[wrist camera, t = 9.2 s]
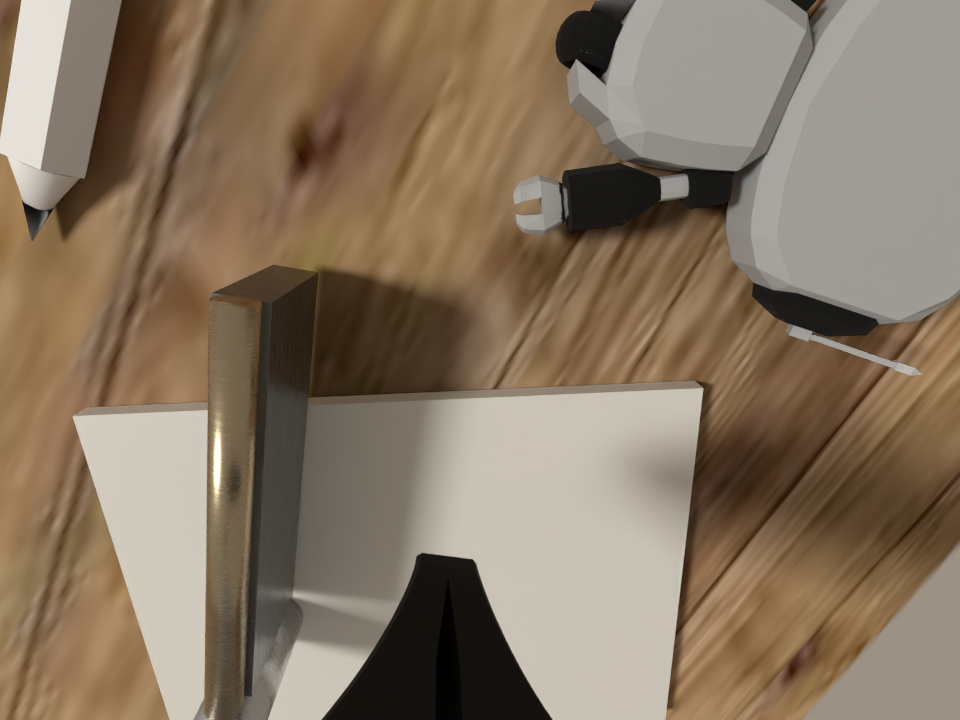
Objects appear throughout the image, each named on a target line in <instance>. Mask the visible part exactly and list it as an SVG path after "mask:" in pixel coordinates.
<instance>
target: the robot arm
mask: <svg viewBox="0 0 960 720" xmlns="http://www.w3.org/2000/svg"><path fill="white" fill-rule="evenodd" d="M322 720H553V719H552V718H551V716H550V715H549V713H548V712H547V711H546V709H545V708H544V706H543V704H542V703H541V701H540V700H539V698H538V696H537V695H536V693H535V692H534V690H533V688H532V687H531V685H530V683H529V682H528V680H527V678H526V677H525V675H524V673H523V671H522V669H521V668H520V666H519V664H518V662H517V660H516V658H515V656H514V654H513V653H512V651H511V649H510V647H509V645H508V643H507V641H506V639H505V637H504V634H503V632H502V630H501V628H500V626H499V623H498V621H497V619H496V617H495V615H494V612H493V610H492V607H491V605H490V602H489V600H488V597H487V595H486V592H485V589H484V587H483V584H482V581H481V578H480V575H479V572H478V568H477V564H476V563H475V561H474V560H473V559H467V558H459V557H452V556H444V555H436V554H428V553H421V554H419V555H417V556H416V561H415V566H414V570H413V573H412V576H411V578H410V581H409V583H408V586H407V588H406V590H405V593H404V595H403V597H402V599H401V601H400V603H399V605H398V607H397V609H396V611H395V613H394V615H393V617H392V619H391V620H390V622H389V624H388V626H387V627H386V629H385V631H384V632H383V634H382V636H381V637H380V639H379V641H378V642H377V644H376V646H375V647H374V649H373V651H372V652H371V654H370V655H369V657H368V658H367V660H366V661H365V663H364V664H363V666H362V667H361V669H360V670H359V671H358V673H357V674H356V676H355V677H354V678H353V680H352V681H351V683H350V684H349V685H348V687H347V688H346V689H345V691H344V692H343V693H342V694H341V696H340V697H339V698H338V700H337V701H336V702H335V703H334V705H333V706H332V707H331V709H330V710H329V711H328V712H327V713H326V715H325V716H324V717H323V718H322Z"/></svg>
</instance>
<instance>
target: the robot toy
mask: <svg viewBox="0 0 960 720" xmlns="http://www.w3.org/2000/svg"><path fill="white" fill-rule="evenodd" d="M815 1H816V0H596V1H595V3H594V5H593V7H592V9H591V11H577V12H575V13H573V14H571V15H570V16H569V17H568V18H566V20H565V21H564V22H563V24H562V25H561V27H560V29H559V32H558V34H557V39H556V53H557V57H558V59H559V62H561V63H562V64H563V65H564V66H566V67H567V68H569V69H570V71H569V73H568V75H567V85H568V94H569V103H570V106H571V107H572V108H573V109H575V110H576V111H577V112H578V113H579V114H580V115H581V116H583V117H584V118H585V119H586V120H587V121H588V122H589V123H590V124H592V125H593V126H594V127H595V128H596V130H597V132H598V134H599V136H600V138H601V141H602V143H603V145H604V146H605V147H607V148H608V149H609V150H610V151H612V152H613V153H614V154H615V155H617V156H618V157H619V158H620V159H621V160H623V161H625V162H630V163H635V164H640V165H645V166H649V167H654V168H659V169H666V170H674V171H681V172H680V174H677V175H670V176H663V177H656V176H653V175H651V174H648V173H646V172H644V171H641V170H638V169H635V168H632V167H629V166H626V165H623V164H620V163H616V164H609V165H602V166H595V167H588V168H581V169H573V170H566V171H564V174H563V177H562V183H563V184H562V183H560V182H558V181H555V180H552V179H549V178H546V177H544V176H541V175H537V176H534V177H532V178H529V179H526V180H524V181H521V182H519V183H518V185H517V187H516V189H515V190H514V192H513V196H514V205H515V204H517V203H519V202H522V201H527V200H532V199H537V198H540V205H541V213H536V214H524V215H522V214H516V213H515V215H516V223H517V226H518V227H519V228H520V229H521V230H522V231H523V232H524V233H526V234H536V235H545V234H547V233H549V232H550V231H552V230H553V229H555V228H556V227H558V226H559V225H561V224H562V223H564V221H565V220H566V226H567V228H568V230H569V232H575V231H582V230H590V229H598V228H605V227H613V226H620V225H623V224H625V223H626V222H628V221H630V220H631V219H633V218H635V217H636V216H638V215H639V214H641V213H643V212H644V211H646V210H647V209H649V208H650V207H651V206H653V205H654V204H656V203H657V202H660V201H667V200H675V199H680V200H681V201H682V202H683V203H684V204H685V205H686V206H687V207H688V208H690V209H693V208H700V207H708V206H715V205H722V204H724V203H726V202H728V201H729V202H728V208H727V219H726V233H727V238H728V244H729V249H730V254H731V260H732V261H733V262H734V263H735V264H736V265H737V266H738V267H739V268H740V269H741V270H742V271H743V272H744V273H745V274H746V275H747V276H748V277H749V279H750V280H751V281H752V282H753V292H752V296H753V297H754V298H755V299H756V300H757V301H758V302H759V303H760V304H761V305H762V306H763V307H764V308H765V309H766V310H767V311H769V312H770V313H771V314H772V315H773V316H774V317H775V318H777V319H780V320H782V321H784V322H786V323H788V324H789V325H788V327H787V329H786V331H785V333H787V334H788V335H790V336H793V337H796V338H799V339H802V340H805V341H808V340H809V339H811V340H814V341H817V342H820V343H822V344H825V345H828V346H831V347H834V348H837V349H840V350H843V351H845V352H848V353H851V354H854V355H857V356H860V357H863V358H866V359H869V360H871V361H874V362H877V363H880V364H883V365H886V366H889V367H890V368H892V369H894V370H896V371H899V372H902V373H905V374H908V375H922V374H921V373H920V372H919V371H918V370H917V369H916V368H914V367H912V366H910V365H907V364H904V363H901V362H898V361H895V360H893V361H891V360H889V359H886V358H883V357H880V356H877V355H874V354H871V353H868V352H865V351H862V350H860V349H857V348H854V347H851V346H848V345H845V344H842V343H839V342H836V341H833V340H830V339H828V338H825V337H822V336H819V335H816V334H813V332H816V333H819V334H822V335H825V336H828V337H831V336H854V335H867V334H868V333H869V332H870V331H871V330H873V329H874V328H875V327H876V326H877V325H878V324H889V323H901V322H913V321H919V320H921V319H922V318H924V317H926V316H928V315H929V314H931V313H933V312H934V311H936V310H938V309H939V308H941V307H943V306H945V305H946V304H948V303H950V302H951V301H952V300H953V299H955V298H956V297H957V296H958V295H959V294H960V0H826V1H825V2H824V4H823V5H822V6H821V7H820V8H819V9H818V10H817V11H816V13H815V14H814V15H813V17H812V18H811V19H810V21H809V19H808V13H806V11H807V10H808V9H809V8H810V7H811V6H812V5H813V4H814V3H815ZM732 171H734V175H733V179H732Z"/></svg>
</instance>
